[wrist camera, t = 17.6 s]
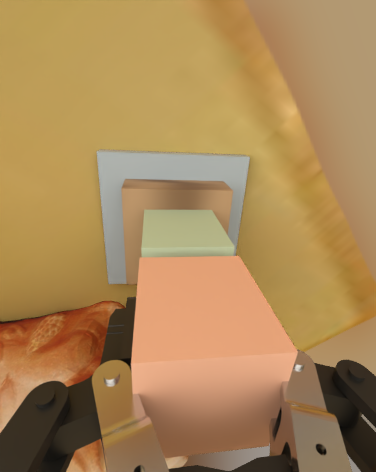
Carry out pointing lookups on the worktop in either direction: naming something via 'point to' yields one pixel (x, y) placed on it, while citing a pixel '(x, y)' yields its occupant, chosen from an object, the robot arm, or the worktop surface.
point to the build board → (161, 168)
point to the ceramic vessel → (56, 364)
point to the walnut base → (166, 208)
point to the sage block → (184, 234)
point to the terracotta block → (207, 354)
